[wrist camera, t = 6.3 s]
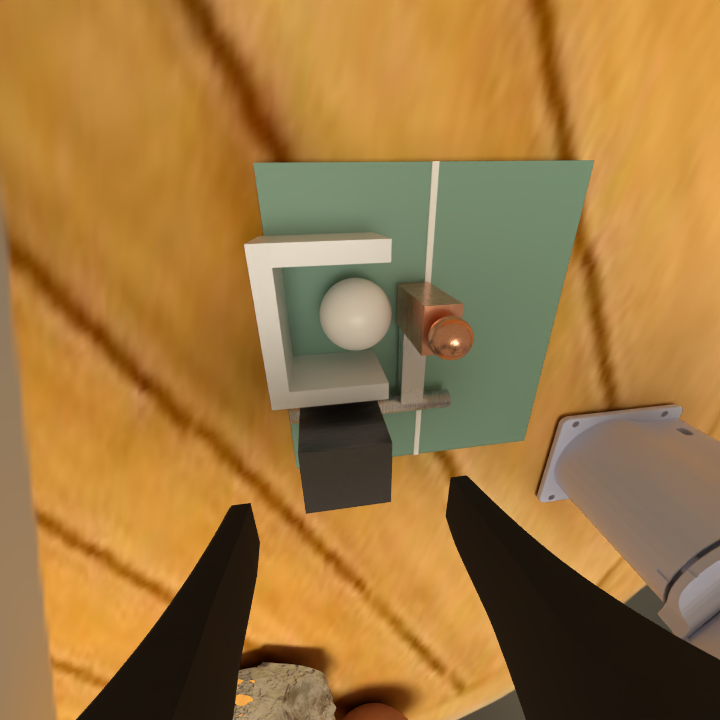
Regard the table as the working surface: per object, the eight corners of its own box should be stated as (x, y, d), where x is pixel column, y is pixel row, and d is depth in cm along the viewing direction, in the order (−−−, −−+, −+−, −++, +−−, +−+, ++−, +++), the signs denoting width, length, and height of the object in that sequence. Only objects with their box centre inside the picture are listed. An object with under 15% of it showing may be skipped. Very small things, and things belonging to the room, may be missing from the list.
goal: (373, 232, 14) (391, 238, 11) (373, 363, 17) (388, 398, 14) (259, 235, 14) (243, 244, 11) (279, 371, 17) (272, 410, 13)
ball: (398, 285, 12) (313, 288, 12) (395, 360, 14) (320, 364, 13) (386, 270, 15) (318, 272, 15) (386, 334, 16) (323, 336, 16)
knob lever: (455, 280, 16) (526, 313, 11) (441, 416, 19) (489, 490, 14) (274, 289, 15) (256, 332, 10) (294, 432, 18) (288, 519, 13)
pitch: (577, 163, 15) (596, 159, 14) (515, 431, 22) (524, 441, 21) (256, 165, 14) (252, 162, 13) (297, 456, 20) (296, 469, 19)
